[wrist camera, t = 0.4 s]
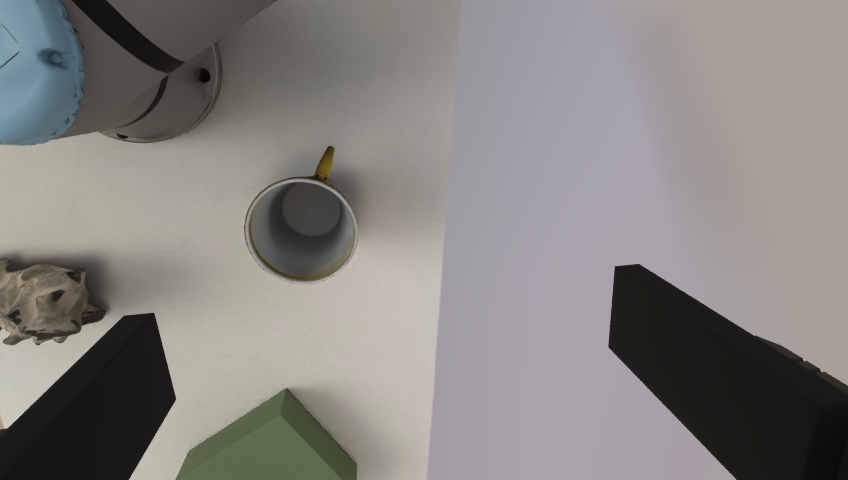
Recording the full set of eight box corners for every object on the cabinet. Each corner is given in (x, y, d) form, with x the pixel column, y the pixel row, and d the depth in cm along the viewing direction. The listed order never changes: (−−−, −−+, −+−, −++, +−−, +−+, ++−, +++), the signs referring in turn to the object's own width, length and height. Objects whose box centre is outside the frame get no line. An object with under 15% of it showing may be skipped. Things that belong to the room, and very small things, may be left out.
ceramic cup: (341, 261, 54) (337, 297, 45) (253, 233, 52) (230, 265, 42) (380, 154, 51) (385, 169, 42) (289, 120, 49) (272, 127, 39)
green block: (188, 451, 59) (173, 482, 54) (286, 388, 58) (279, 414, 53) (265, 521, 64) (258, 556, 59) (357, 464, 63) (356, 494, 58)
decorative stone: (-58, 237, 45) (62, 224, 54) (-53, 319, 48) (60, 294, 56) (27, 309, 39) (147, 282, 47) (26, 400, 41) (140, 358, 50)
